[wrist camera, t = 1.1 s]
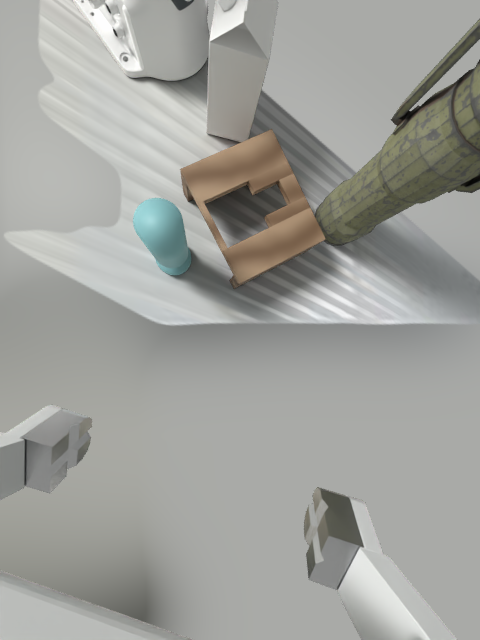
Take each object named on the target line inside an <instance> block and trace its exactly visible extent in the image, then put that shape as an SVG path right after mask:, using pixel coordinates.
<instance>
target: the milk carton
mask: <svg viewBox="0 0 480 640" xmlns="http://www.w3.org/2000/svg"><path fill="white" fill-rule="evenodd" d="M277 9H278V1H277V0H216V3H215V9H214V15H213V22H212V27H211V33H210V40H209V63H208V97H207V130H206V133H208V134H212V135H215V136H219V137H223V138H227V139H230V140H234V141H238V142H243V141H246V140H248V139H249V135H250V131H251V127H252V123H253V120H254V116H255V112H256V108H257V104H258V101H259V97H260V93H261V89H262V85H263V82H264V78H265V73H266V70H267V66H268V63H269V59H270V53H271V46H272V40H273V34H274V28H275V21H276V15H277Z"/></svg>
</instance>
